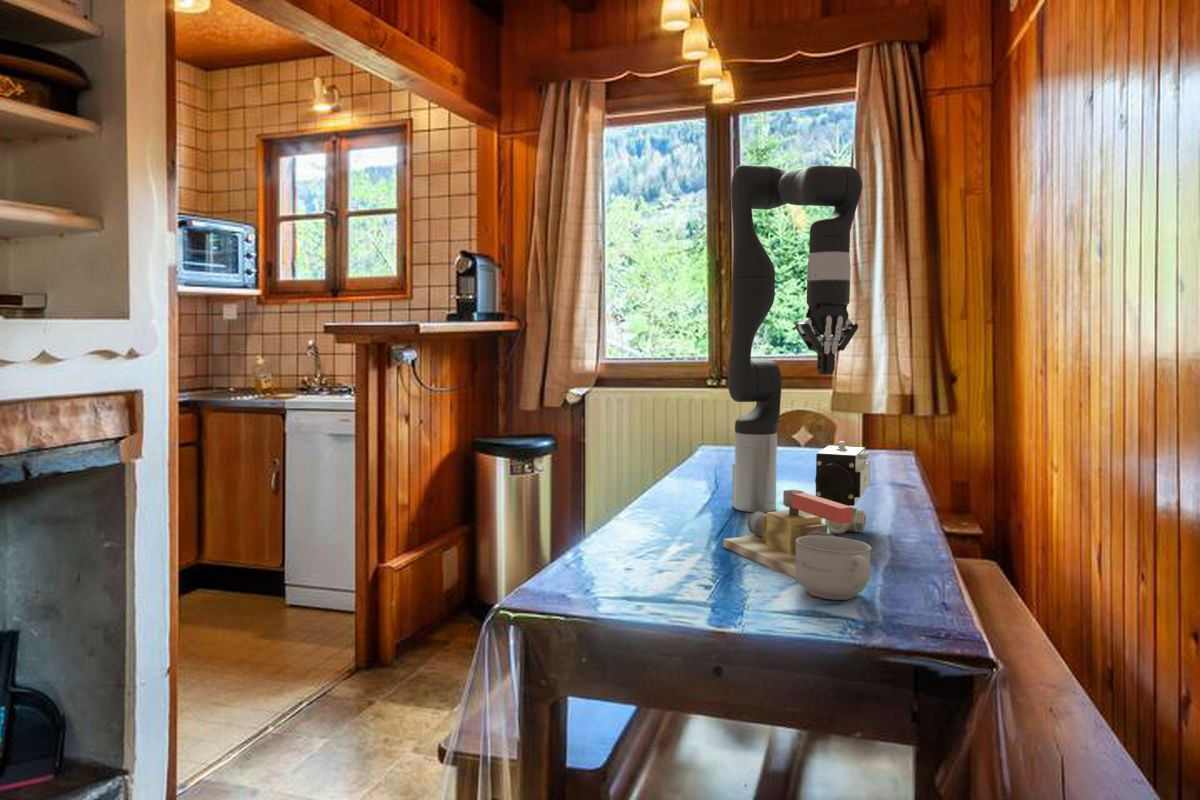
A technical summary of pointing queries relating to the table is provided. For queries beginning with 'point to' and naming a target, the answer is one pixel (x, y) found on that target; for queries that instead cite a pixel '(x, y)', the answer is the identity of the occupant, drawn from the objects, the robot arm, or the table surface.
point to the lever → (818, 506)
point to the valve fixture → (776, 537)
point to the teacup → (832, 566)
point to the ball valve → (843, 481)
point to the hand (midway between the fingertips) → (825, 374)
